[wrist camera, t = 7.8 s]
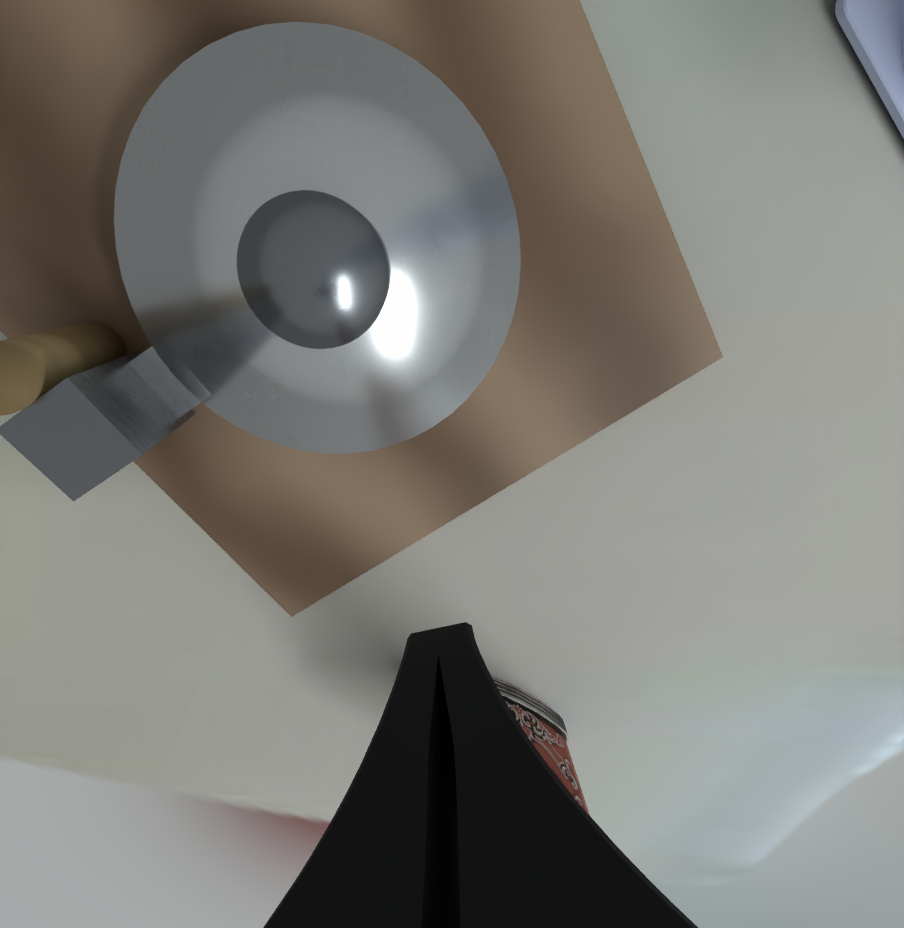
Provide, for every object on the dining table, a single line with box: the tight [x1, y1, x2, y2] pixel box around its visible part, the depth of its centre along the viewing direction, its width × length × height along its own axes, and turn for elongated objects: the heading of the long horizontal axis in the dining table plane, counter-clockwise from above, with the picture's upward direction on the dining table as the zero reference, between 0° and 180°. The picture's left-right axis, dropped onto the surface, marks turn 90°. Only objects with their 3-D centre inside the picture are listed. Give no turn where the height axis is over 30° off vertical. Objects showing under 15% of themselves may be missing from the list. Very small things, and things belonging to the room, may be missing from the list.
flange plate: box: [0, 22, 521, 501], centre depth 14 cm, size 11×14×4 cm
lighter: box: [492, 677, 590, 816], centre depth 20 cm, size 8×3×10 cm, turn 55°
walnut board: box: [0, 0, 723, 617], centre depth 14 cm, size 19×19×6 cm
